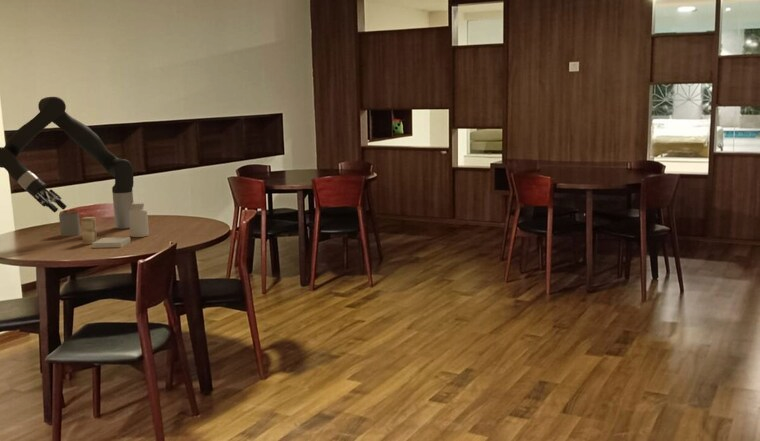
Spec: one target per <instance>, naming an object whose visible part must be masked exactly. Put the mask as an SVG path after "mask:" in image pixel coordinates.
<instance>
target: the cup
mask: <svg viewBox="0 0 760 441" xmlns="http://www.w3.org/2000/svg"><path fill="white" fill-rule="evenodd" d="M58 219H59V226H60V227H59V229H60V236H61V237H76V236H80V235H82V232H81V225H80V224H81V222H80V214H79V212H76V211H72V212H71V211H70V212H69V211H68V212H61V213H59V214H58Z"/></svg>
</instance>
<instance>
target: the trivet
mask: <svg viewBox="0 0 760 441" xmlns="http://www.w3.org/2000/svg"><path fill="white" fill-rule="evenodd" d="M131 240H132V239H131V236H128V237H127V236H122V237H119V236H118V237H101V238H100V239H97V241H96V242H94V243H92V249H93V248H94V249H102V248H122V247H124V246H125V245H126V246H127V244H129V243H131V242H132V241H131Z"/></svg>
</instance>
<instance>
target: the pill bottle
mask: <svg viewBox="0 0 760 441" xmlns="http://www.w3.org/2000/svg"><path fill="white" fill-rule="evenodd" d="M131 206H132V209H131V210H130V211H129V222H130V228H129V232H130V233H129V234H130V238H143V237H144V238H146V237H148V236H150V234H149V218H148V210H147V209H145V208H144V206H145V204H144V202H133V203H132V204H131Z"/></svg>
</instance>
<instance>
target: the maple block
mask: <svg viewBox="0 0 760 441" xmlns="http://www.w3.org/2000/svg"><path fill="white" fill-rule="evenodd" d="M80 224H81V225H80V228H81V237H82V244H83V245H91V244H92V243H94V242H96V241H98V236H97V222H96V217H95V216H85V217H82V218H80Z"/></svg>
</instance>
